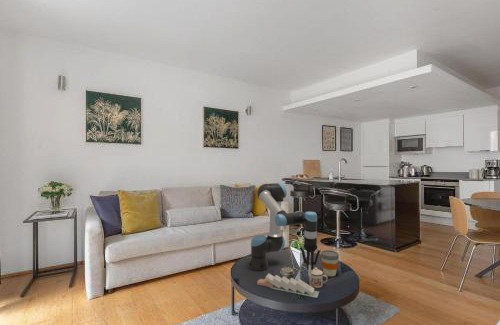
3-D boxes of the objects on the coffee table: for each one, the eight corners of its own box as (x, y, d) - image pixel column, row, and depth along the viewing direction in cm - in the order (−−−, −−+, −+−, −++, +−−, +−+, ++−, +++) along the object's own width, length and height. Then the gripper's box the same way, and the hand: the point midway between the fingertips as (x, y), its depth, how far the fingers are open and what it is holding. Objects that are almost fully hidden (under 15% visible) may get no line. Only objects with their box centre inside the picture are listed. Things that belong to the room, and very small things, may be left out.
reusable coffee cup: (335, 269, 199) (335, 250, 199) (341, 277, 187) (341, 256, 187) (318, 270, 199) (318, 250, 199) (323, 277, 187) (323, 256, 186)
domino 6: (311, 295, 161) (295, 285, 165) (313, 291, 166) (297, 281, 170) (313, 292, 160) (296, 282, 164) (314, 288, 165) (298, 278, 169)
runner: (269, 288, 170) (269, 287, 170) (273, 283, 177) (273, 282, 177) (317, 298, 158) (317, 297, 158) (319, 292, 166) (319, 291, 166)
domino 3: (287, 290, 167) (272, 280, 170) (289, 286, 172) (275, 277, 176) (288, 288, 166) (273, 278, 170) (291, 284, 171) (276, 274, 175)
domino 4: (295, 292, 165) (279, 282, 168) (297, 288, 170) (282, 278, 174) (296, 289, 164) (281, 279, 168) (298, 285, 169) (283, 276, 173)
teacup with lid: (309, 288, 171) (309, 270, 171) (308, 281, 180) (308, 264, 180) (328, 289, 169) (328, 271, 169) (326, 283, 178) (326, 266, 178)
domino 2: (279, 288, 169) (264, 279, 172) (282, 284, 174) (267, 275, 178) (280, 286, 168) (265, 276, 172) (283, 282, 173) (268, 273, 177)
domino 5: (303, 293, 163) (287, 283, 166) (305, 289, 168) (289, 280, 172) (304, 291, 162) (288, 281, 166) (306, 287, 167) (291, 277, 171)
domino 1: (272, 287, 170) (257, 285, 175) (275, 283, 175) (260, 281, 180) (272, 284, 170) (257, 282, 175) (275, 280, 176) (260, 278, 180)
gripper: (298, 237, 162) (298, 275, 163) (320, 240, 157) (319, 279, 158) (301, 234, 169) (300, 270, 170) (322, 236, 164) (321, 274, 165)
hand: (309, 274), depth 164 cm, fingers closed
